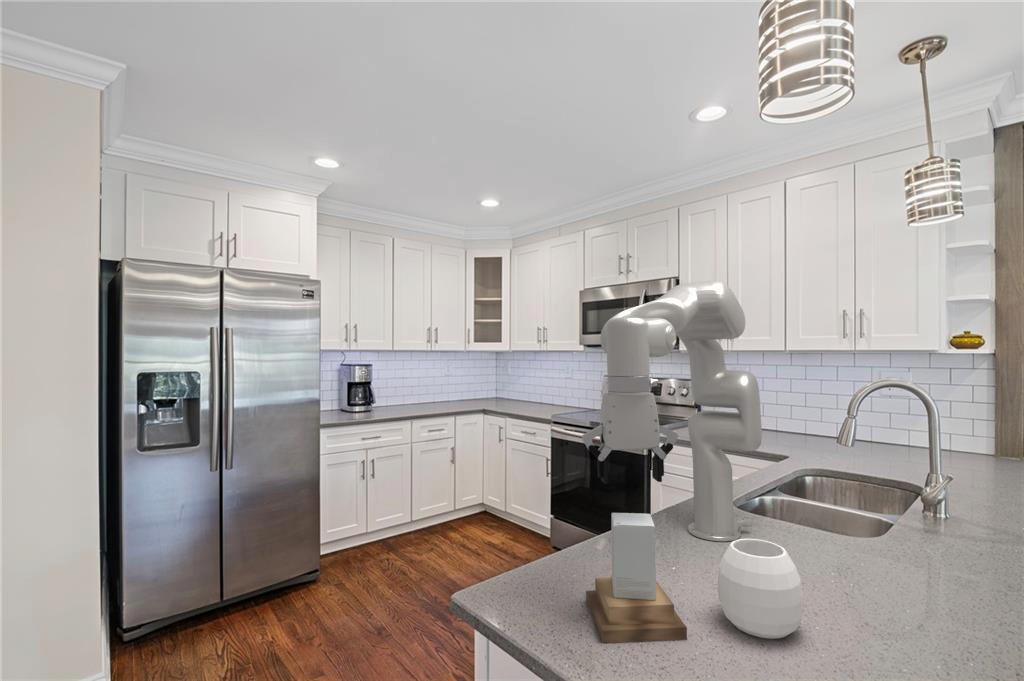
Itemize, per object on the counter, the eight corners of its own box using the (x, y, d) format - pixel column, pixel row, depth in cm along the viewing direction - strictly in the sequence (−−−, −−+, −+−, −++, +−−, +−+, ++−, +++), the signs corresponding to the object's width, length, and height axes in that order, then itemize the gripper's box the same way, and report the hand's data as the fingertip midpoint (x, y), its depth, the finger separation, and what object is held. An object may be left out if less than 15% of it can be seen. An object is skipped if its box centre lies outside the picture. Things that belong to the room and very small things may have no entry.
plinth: (658, 598, 97) (657, 572, 97) (687, 639, 83) (686, 608, 83) (586, 601, 96) (585, 574, 96) (602, 643, 82) (602, 612, 82)
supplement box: (657, 601, 86) (655, 526, 86) (612, 598, 87) (611, 524, 87) (653, 582, 93) (651, 512, 93) (612, 579, 94) (610, 511, 95)
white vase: (707, 607, 93) (705, 533, 94) (779, 607, 93) (777, 533, 93) (737, 648, 80) (734, 563, 81) (821, 648, 80) (818, 563, 80)
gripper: (668, 383, 95) (670, 474, 95) (577, 385, 95) (579, 477, 94) (683, 386, 88) (686, 485, 87) (585, 388, 87) (587, 488, 87)
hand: (630, 480), depth 91 cm, fingers open, 9 cm apart
